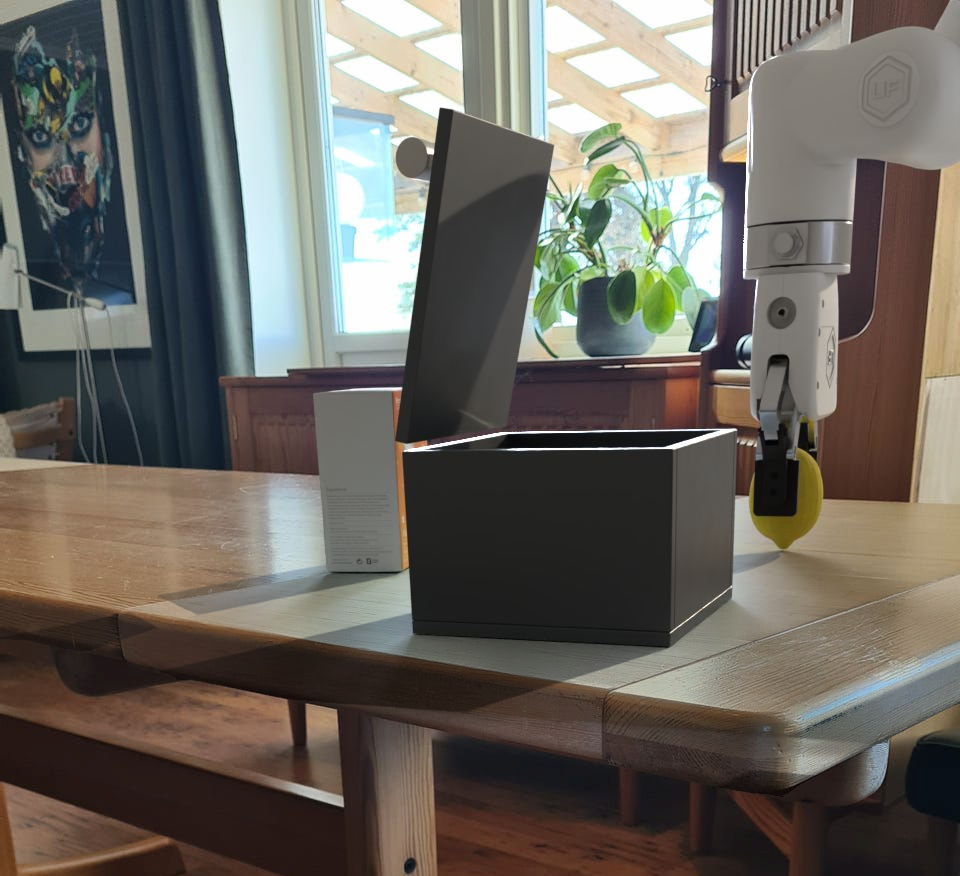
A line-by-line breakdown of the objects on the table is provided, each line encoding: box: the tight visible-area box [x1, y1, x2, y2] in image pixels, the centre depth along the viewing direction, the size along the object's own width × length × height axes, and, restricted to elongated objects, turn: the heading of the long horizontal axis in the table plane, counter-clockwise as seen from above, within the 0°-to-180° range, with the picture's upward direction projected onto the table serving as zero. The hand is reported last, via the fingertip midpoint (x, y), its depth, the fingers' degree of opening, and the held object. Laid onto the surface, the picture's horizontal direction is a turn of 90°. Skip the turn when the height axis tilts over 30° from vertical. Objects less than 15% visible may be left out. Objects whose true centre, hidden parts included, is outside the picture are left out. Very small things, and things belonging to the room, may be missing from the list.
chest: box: [402, 428, 738, 648], centre depth 77 cm, size 16×15×10 cm
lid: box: [395, 107, 555, 444], centre depth 75 cm, size 16×15×5 cm
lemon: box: [748, 448, 824, 551], centre depth 98 cm, size 6×6×8 cm
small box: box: [312, 386, 428, 573], centre depth 98 cm, size 8×6×13 cm
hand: (785, 507), depth 98 cm, fingers open, 6 cm apart
